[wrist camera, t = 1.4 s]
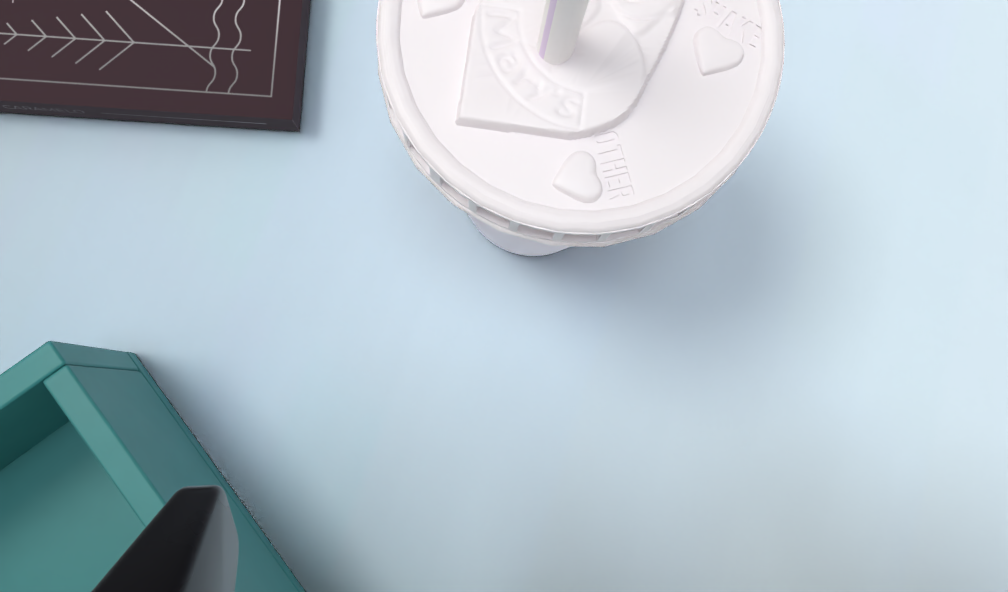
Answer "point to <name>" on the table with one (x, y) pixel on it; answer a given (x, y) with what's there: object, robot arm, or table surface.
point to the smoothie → (578, 108)
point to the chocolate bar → (156, 60)
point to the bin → (99, 472)
